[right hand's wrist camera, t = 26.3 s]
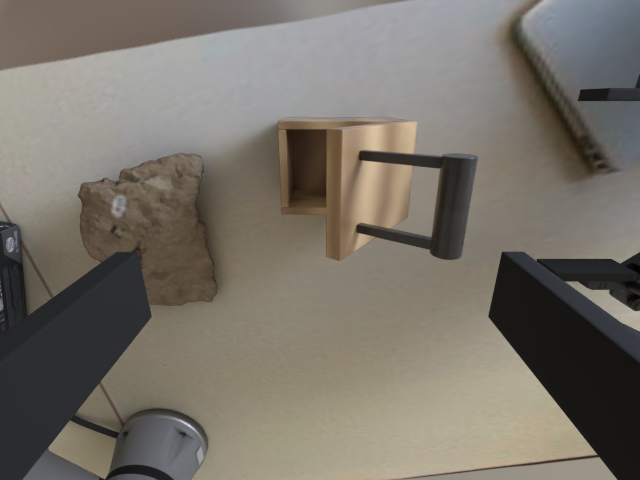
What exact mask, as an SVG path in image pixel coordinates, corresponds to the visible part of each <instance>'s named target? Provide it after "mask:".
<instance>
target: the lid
mask: <svg viewBox="0 0 640 480" xmlns="http://www.w3.org/2000/svg"><path fill="white" fill-rule="evenodd" d="M416 129H417V122H416V121H402V122H391V123H381V124H370V125H360V126H350V127H339V128H329V129H327V164H326V257H328V258H332V259H335V260H338V261H340V260H342V259H343V258H345V257H346V256H348V255H350V254H351V253H353V252H354V251H356V250H357V249H359V248H360V247H362V246H364V245H365V244H367V243H368V242H370V241H371V240H373V239H375V238H376V237H378V238H382V239H386V240H390V241H395V242H399V243H403V244H408V245H412V246H416V247H421V248H425V249H429V250H430V253H431V254H432V255H433V256H435V257H437V258H440V259H446V260H455V259H459V258H460V257H461V256H462V250H463V244H464V238H465V231H466V225H467V219H468V213H469V207H470V201H471V195H472V189H473V183H474V177H475V171H476V165H477V159H478V157H477V156H475V155H470V154H457V153H451V154H443V155H442V156H435V155H423V154H414V149H415V139H416ZM413 166H421V167H431V168H440V175H439V182H438V190H437V198H436V206H435V214H434V222H433V230H432V238H431V237H426V236H422V235H417V234H412V233H408V232H403V231H398V230H394V229H390V228H392V227H393V226H395V225H397V224H398V223H400V222H401V221H403V220H404V219H406V218H407V217H408V211H409V201H410V190H411V180H412V170H413Z"/></svg>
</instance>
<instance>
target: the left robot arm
mask: <svg viewBox="0 0 640 480" xmlns="http://www.w3.org/2000/svg"><path fill="white" fill-rule="evenodd" d="M578 101H640V75H639V77H638V80H637V84H636V87H635V88H605V89H587V90H581V91H580V94H579V98H578ZM537 262H538V263H540V264H541V265H542V266H544V267H545V268H546V269H548V270H549V271H551V272H552V273H553V274H555V275H556V276H557V277H559V278H560V279H562V280H563V281H578V282H579V283H581V284H582V285H584V286H585V287H587V288H589V289H592V290H598V289H599V290H603V289H604V290H610V291H609V293H610V295H611V296H613V297H614V298H616V299H617V300H619V301H620V302H622V303H623V304H625V305H626V306H628V307H629V308H631V309H632V310H634V311H640V252H639V253H638V254H636V255H634V256H633V257H631V258H629V259H628V260H626V261H624V262H623V263H621V264H620V263H618V262H616V261H614V260H612V259H537Z"/></svg>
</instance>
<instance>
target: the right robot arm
mask: <svg viewBox="0 0 640 480" xmlns="http://www.w3.org/2000/svg"><path fill="white" fill-rule="evenodd" d="M151 317H152V316H151V311H150V306H149V302H148V297H147V292H146V288H145V283H144V278H143V274H142V269H141V264H140V260H139V255H138V252H116V253H114V254H113V255H111V256H110V257H109V258H107V259H106V260H105V261H103V262H102V263H100V264H99V265H98V266H96V267H95V268H94V269H92V270H91V271H89V272H88V273H87V274H85V275H84V276H83V277H81V278H80V279H78V280H77V281H76V282H74V283H73V284H72V285H70V286H69V287H67V288H66V289H65V290H63V291H62V292H60V293H59V294H58V295H56V296H55V297H54V298H52V299H51V300H49V301H48V302H47V303H45V304H44V305H43V306H41V307H40V308H38V309H37V310H36V311H34V312H33V313H32V314H30V315H29V316H27V317H26V318H25V319H23V320H22V321H21V322H19V323H18V324H16V325H15V326H14V327H12V328H10V329H8V330H6V331H4V332H2V333H0V480H191V479H192V478H193V476H194V475H195V473H196V472H197V470H198V469H199V468H200V466H201V465H202V463H203V461H204V458H205V455H206V452H207V449H208V440H207V436H206V434H205V432H204V430H203V429H202V428H201V427H200V425H199V424H198V423H196V422H195V421H194V420H192V419H191V418H189V417H188V416H186V415H184V414H181V413H179V412H175V411H171V410H166V409H150V410H145V411H142V412H139V413H137V414H135V415H133V416H132V417H130V418H129V419H128V420H127V421H126V423H125V424H124V426H123V428H122V429H121V431H120V433H117V432H115V431H112V430H109V429H106V428H104V427H101V426H98V425H96V424H93V423H90V422H88V421H85V420H83V419H81V418H79V417H77V416H75V415H74V414H75V413H76V412H77V410H78V409H79V408H80V407H81V405H82V404H83V403H84V401H85V400H86V399H87V398H88V396H89V395H90V394H91V393H92V391H93V390H94V389H95V388H96V386H97V385H98V384H99V383H100V381H101V380H102V379H103V377H104V376H105V375H106V374H107V372H108V371H109V370H110V369H111V367H112V366H113V365H114V364H115V362H116V361H117V360H118V359H119V357H120V356H121V355H122V354H123V352H124V351H125V350H126V348H127V347H128V346H129V345H130V343H131V342H132V341H133V340H134V338H135V337H136V336H137V335H138V333H139V332H140V331H141V330H142V328H143V327H144V326H145V324H146V323H147V322H148V321H149V319H150V318H151ZM488 317H489V318H490V319H491V321H492V322H493V323H494V324H495V326H496V327H497V328H498V330H499V331H500V332H501V333H502V335H503V336H504V337H505V338H506V340H507V341H508V342H509V343H510V345H511V346H512V347H513V348H514V350H515V351H516V352H517V354H518V355H519V356H520V357H521V359H522V360H523V361H524V362H525V364H526V365H527V366H528V367H529V369H530V370H531V371H532V372H533V374H534V375H535V376H536V377H537V379H538V380H539V381H540V383H541V384H542V385H543V386H544V388H545V389H546V390H547V391H548V393H549V394H550V395H551V396H552V398H553V399H554V400H555V401H556V403H557V404H558V405H559V407H560V408H561V409H562V410H563V412H564V413H565V414H566V415H567V417H568V418H569V419H570V420H571V422H572V423H573V424H574V425H575V427H576V428H577V429H578V430H579V432H580V433H581V434H582V436H583V437H584V438H585V439H586V441H587V442H588V443H589V444H590V446H591V447H592V448H593V449H594V451H595V452H596V453H597V454H598V456H599V457H600V458H601V460H602V461H603V462H604V463H605V465H606V466H607V467H608V468H609V470H610V471H611V472H612V473H613V475H614V476H615V477H616V478H617V480H640V332H639V331H637V330H635V329H633V328H631V327H629V326H627V325H625V324H622V323H621V322H619V321H618V320H617V319H615V318H614V317H613V316H611V315H610V314H608V313H607V312H606V311H604V310H603V309H602V308H600V307H599V306H597V305H596V304H595V303H593V302H592V301H591V300H589V299H588V298H586V297H585V296H584V295H582V294H581V293H580V292H578V291H577V290H575V289H574V288H573V287H571V286H570V285H568V284H567V283H566V282H564V281H563V280H562V279H560V278H559V277H557V276H556V275H555V274H553V273H552V272H551V271H549V270H548V269H546V268H545V267H544V266H542V265H541V264H540V263H538V262H537V261H535V260H534V259H533V258H531V257H530V256H529V255H527V254H526V253H524V252H502V255H501V260H500V264H499V269H498V274H497V278H496V283H495V288H494V292H493V297H492V302H491V306H490V311H489V316H488ZM69 420H71V421H73V422H75V423H77V424H79V425H82V426H84V427H87V428H89V429H92V430H94V431H97V432H100V433H102V434H105V435H108V436H111V437H113V438H116V439H117V441H116V445H115V449H114V454H113V458H112V462H111V467H110V471H109V474H108V475H107V477H106V479H103V478H101V477H99V476H97V475H95V474H93V473H91V472H89V471H87V470H85V469H83V468H81V467H79V466H77V465H76V464H74V463H72V462H70V461H68V460H66V459H64V458H62V457H60V456H58V455H56V454H54V453H52V452H50V451H49V449H48V447H49V446H50V444H51V443H52V442H53V441H54V439H55V438H56V437H57V436H58V434H59V433H60V432H61V430H62V429H63V428H64V427H65V425H66V424H67V423H68V422H69Z"/></svg>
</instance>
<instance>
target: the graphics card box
mask: <svg viewBox="0 0 640 480" xmlns="http://www.w3.org/2000/svg"><path fill="white" fill-rule="evenodd" d="M19 232H20V231H19V227H18V226H17V225H16V224H11V223H6V222H0V333H2V332H4V331H6V330H8V329H10V328H12V327H14V326H15V325H16V324H18V323H19V322H21V321H22V320H23V319H25V318H26V317H27V309H26V299H25V289H24V278H23V267H22V255H21V244H20V233H19Z"/></svg>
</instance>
